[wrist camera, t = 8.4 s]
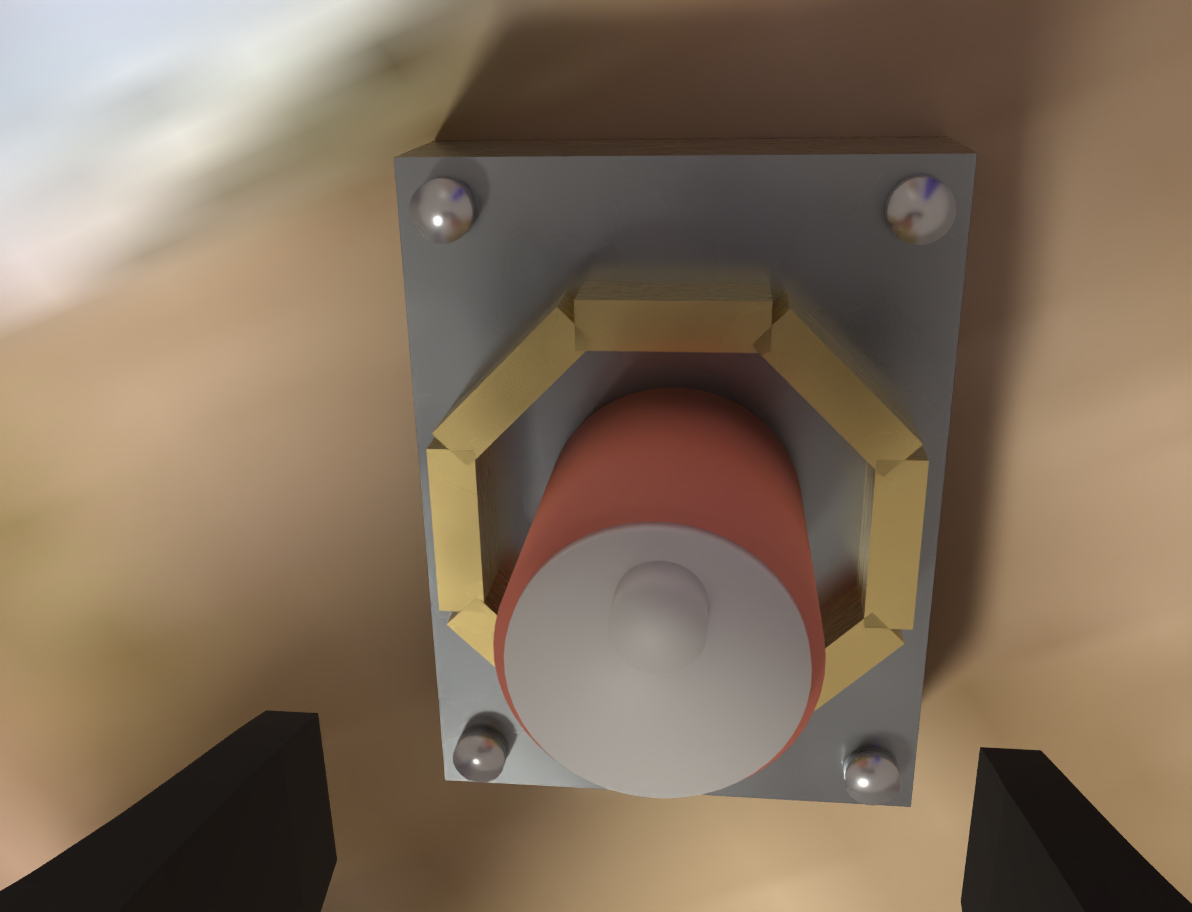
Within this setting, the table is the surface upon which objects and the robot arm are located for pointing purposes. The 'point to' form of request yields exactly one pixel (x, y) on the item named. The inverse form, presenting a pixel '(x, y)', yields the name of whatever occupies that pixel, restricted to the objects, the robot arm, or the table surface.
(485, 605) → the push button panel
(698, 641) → the can
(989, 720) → the table surface
